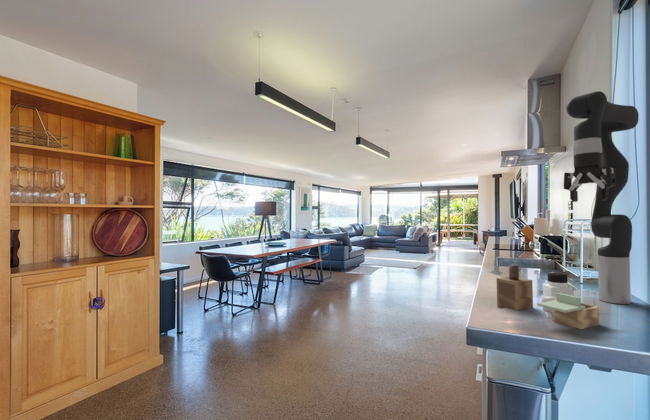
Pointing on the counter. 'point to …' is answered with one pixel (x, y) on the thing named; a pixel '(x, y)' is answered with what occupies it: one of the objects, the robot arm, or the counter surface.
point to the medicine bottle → (557, 285)
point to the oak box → (578, 317)
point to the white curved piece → (547, 298)
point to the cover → (514, 291)
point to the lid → (563, 303)
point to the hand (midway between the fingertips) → (588, 201)
